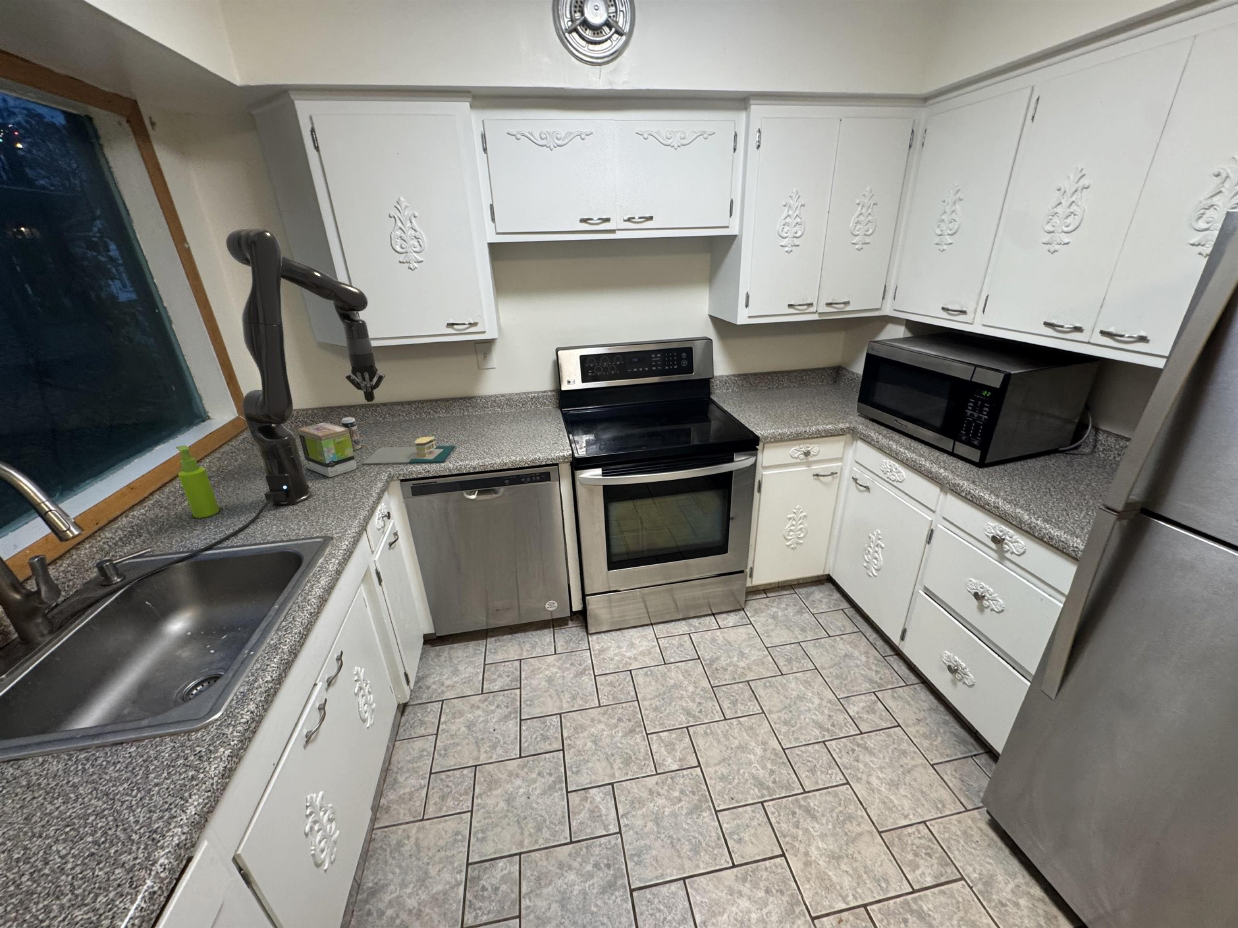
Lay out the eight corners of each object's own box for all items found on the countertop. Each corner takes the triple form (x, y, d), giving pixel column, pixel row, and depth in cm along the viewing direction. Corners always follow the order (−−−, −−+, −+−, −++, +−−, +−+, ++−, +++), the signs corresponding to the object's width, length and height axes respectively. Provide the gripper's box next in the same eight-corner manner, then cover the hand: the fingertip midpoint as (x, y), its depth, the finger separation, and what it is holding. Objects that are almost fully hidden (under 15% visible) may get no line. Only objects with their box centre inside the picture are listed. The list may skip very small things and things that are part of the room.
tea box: (358, 468, 174) (349, 427, 168) (329, 478, 166) (318, 436, 161) (335, 459, 182) (325, 420, 176) (306, 468, 174) (295, 428, 168)
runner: (443, 462, 178) (442, 461, 178) (362, 464, 177) (362, 463, 177) (454, 447, 193) (454, 445, 193) (380, 448, 192) (379, 447, 192)
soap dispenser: (214, 505, 148) (192, 441, 141) (222, 512, 144) (199, 447, 137) (190, 512, 144) (165, 447, 137) (196, 520, 140) (172, 453, 133)
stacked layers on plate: (432, 459, 180) (429, 444, 178) (408, 458, 181) (405, 444, 179) (444, 449, 189) (441, 435, 187) (421, 448, 190) (418, 435, 188)
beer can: (355, 451, 190) (349, 420, 185) (344, 450, 191) (337, 420, 186) (364, 446, 194) (357, 417, 190) (353, 446, 195) (346, 416, 190)
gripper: (335, 353, 165) (346, 404, 172) (376, 353, 166) (385, 404, 173) (345, 349, 172) (355, 399, 179) (384, 349, 173) (393, 398, 179)
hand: (370, 401), depth 176 cm, fingers closed
